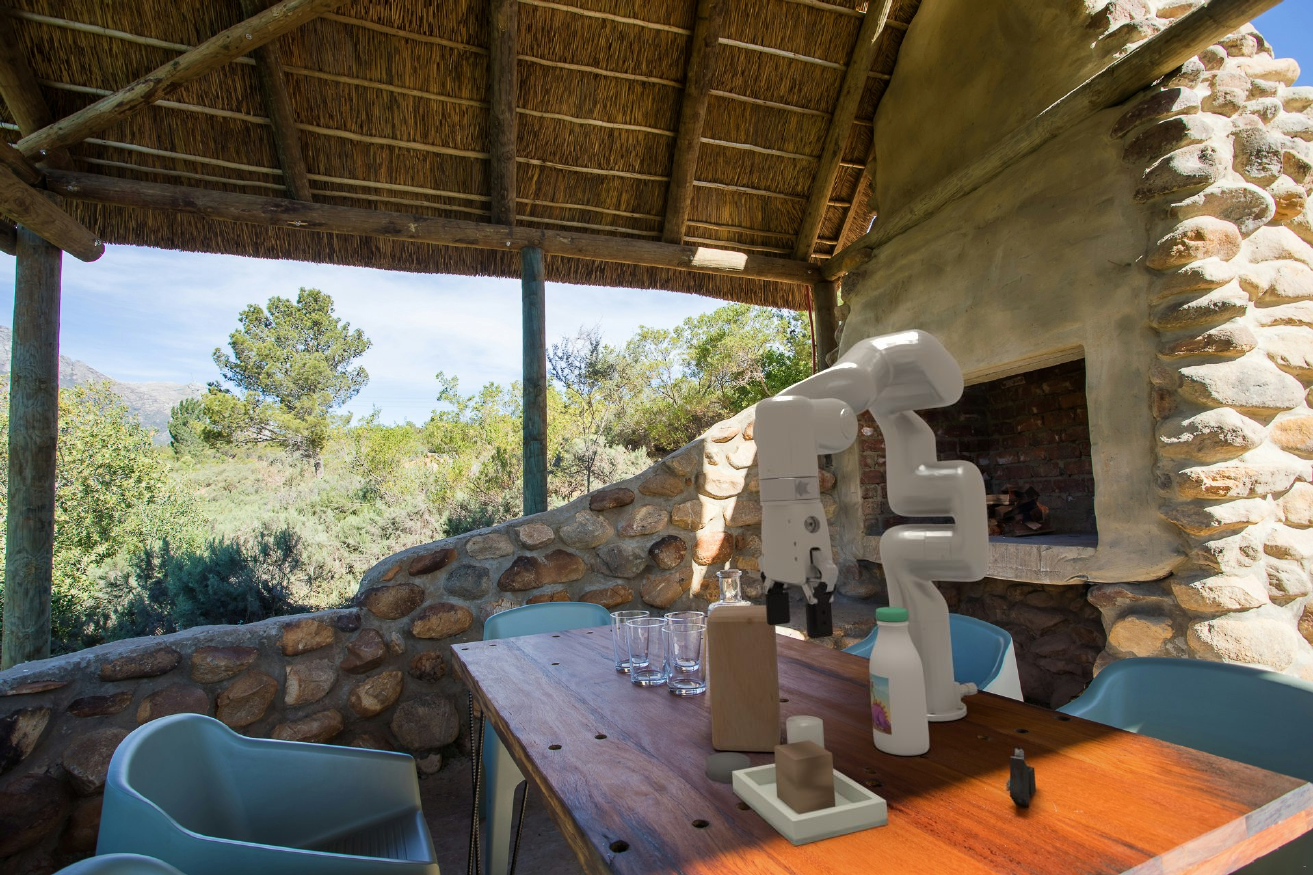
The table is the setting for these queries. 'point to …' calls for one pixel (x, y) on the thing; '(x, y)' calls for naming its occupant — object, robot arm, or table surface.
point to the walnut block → (804, 776)
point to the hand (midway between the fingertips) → (798, 629)
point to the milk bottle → (897, 687)
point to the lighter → (1020, 780)
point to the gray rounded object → (726, 766)
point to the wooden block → (743, 679)
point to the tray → (848, 815)
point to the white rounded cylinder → (805, 729)
